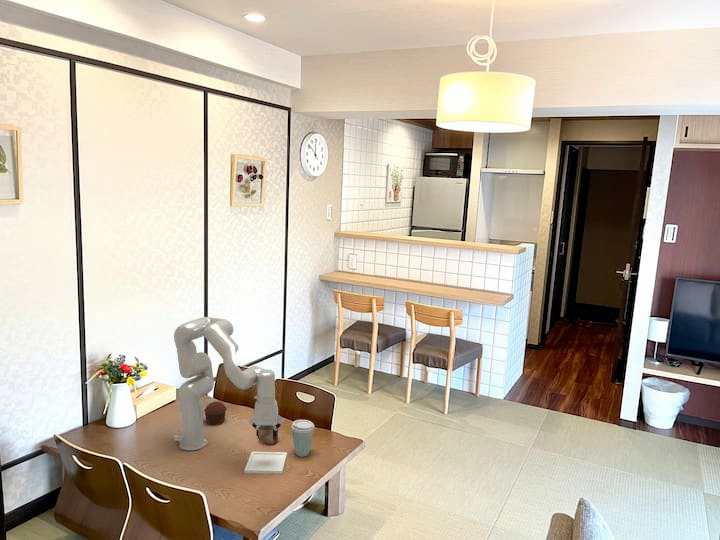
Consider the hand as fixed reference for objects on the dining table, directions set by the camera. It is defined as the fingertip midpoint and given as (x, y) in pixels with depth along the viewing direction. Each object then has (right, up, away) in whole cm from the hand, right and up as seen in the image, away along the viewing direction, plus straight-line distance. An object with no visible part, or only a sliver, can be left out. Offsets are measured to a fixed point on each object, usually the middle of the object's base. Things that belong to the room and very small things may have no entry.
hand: (266, 437), depth 237 cm
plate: (0, -12, +2) cm, 13 cm away
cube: (0, -1, 0) cm, 1 cm away
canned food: (-3, -9, +23) cm, 25 cm away
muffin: (-34, -5, +42) cm, 54 cm away
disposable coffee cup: (+14, -11, +12) cm, 22 cm away
